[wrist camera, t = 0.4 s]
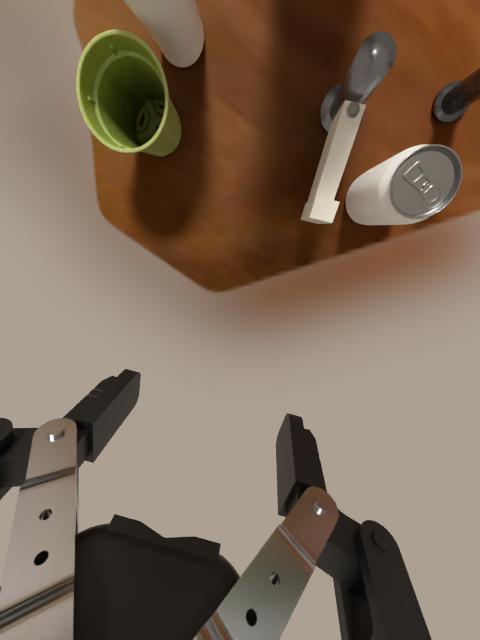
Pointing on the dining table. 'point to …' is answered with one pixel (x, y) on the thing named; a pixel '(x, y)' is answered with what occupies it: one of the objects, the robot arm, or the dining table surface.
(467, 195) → the dining table surface
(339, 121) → the gate
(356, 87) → the hinge post
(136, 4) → the white tapered cup
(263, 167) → the dining table surface
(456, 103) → the post
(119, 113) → the plant pot
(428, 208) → the can
